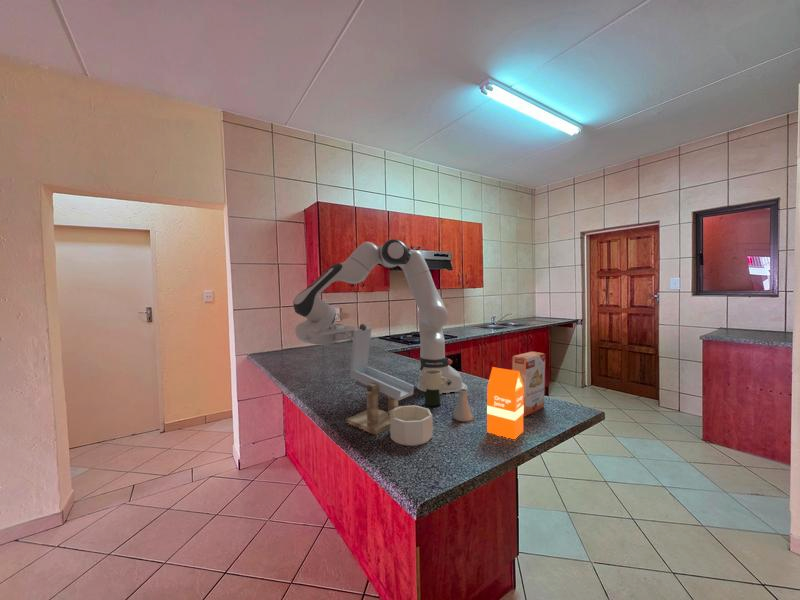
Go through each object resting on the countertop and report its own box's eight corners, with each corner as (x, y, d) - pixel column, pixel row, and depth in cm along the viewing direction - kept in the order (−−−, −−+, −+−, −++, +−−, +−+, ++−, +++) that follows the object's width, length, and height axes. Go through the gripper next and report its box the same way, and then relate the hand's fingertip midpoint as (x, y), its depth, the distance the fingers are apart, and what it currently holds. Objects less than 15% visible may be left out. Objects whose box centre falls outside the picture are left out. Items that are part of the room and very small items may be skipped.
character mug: (448, 402, 125) (448, 370, 125) (444, 409, 118) (444, 375, 118) (421, 399, 129) (421, 368, 128) (416, 405, 122) (416, 372, 122)
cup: (427, 425, 104) (427, 404, 104) (435, 444, 92) (435, 420, 91) (389, 427, 103) (388, 406, 103) (391, 446, 91) (391, 422, 90)
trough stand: (345, 423, 107) (345, 379, 106) (374, 411, 117) (373, 371, 116) (375, 435, 98) (375, 387, 97) (403, 421, 108) (402, 377, 108)
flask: (458, 423, 106) (458, 394, 106) (449, 415, 113) (449, 387, 113) (477, 421, 108) (477, 392, 107) (467, 413, 115) (467, 385, 114)
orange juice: (496, 424, 105) (496, 364, 104) (523, 431, 100) (524, 368, 99) (486, 432, 99) (486, 369, 98) (514, 440, 94) (515, 374, 93)
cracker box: (526, 417, 110) (526, 358, 109) (510, 412, 115) (511, 355, 114) (545, 408, 119) (546, 352, 118) (530, 403, 124) (530, 350, 123)
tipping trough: (347, 382, 110) (353, 324, 107) (363, 377, 116) (368, 322, 113) (397, 406, 96) (405, 340, 93) (412, 400, 101) (419, 337, 98)
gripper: (301, 329, 115) (324, 332, 107) (344, 323, 131) (367, 325, 122) (301, 346, 116) (325, 350, 107) (344, 338, 131) (368, 341, 123)
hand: (348, 337), depth 115 cm, fingers closed
